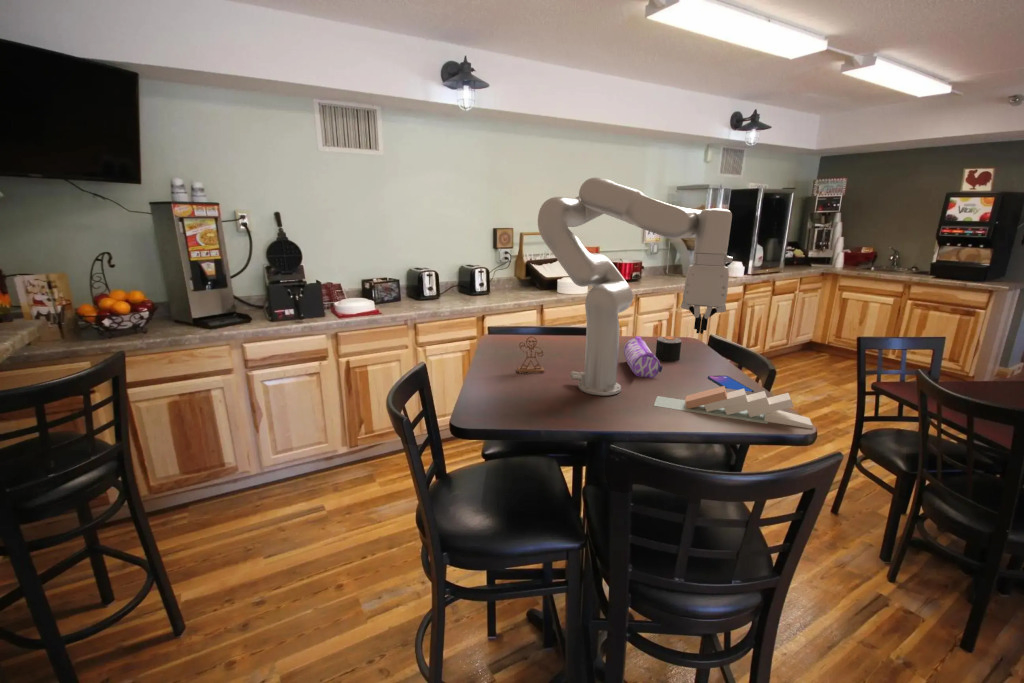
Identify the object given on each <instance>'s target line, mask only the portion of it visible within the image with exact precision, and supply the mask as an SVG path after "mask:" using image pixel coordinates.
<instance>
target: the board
mask: <svg viewBox="0 0 1024 683" xmlns="http://www.w3.org/2000/svg"><path fill="white" fill-rule="evenodd" d="M653 407H659V408H665V409H671V410H678V411H684V412H691V413H698V414H704V415H710V416H716V417H723V418H728V419H735V420H741V421H746V422H754V423H758V424H759V423H761V424H766V425H768V424H769V422H767V421H764V416H763V414H762V415H758V416H754V417H750V416H749V414H748V411H747V410H746V411H742V412H737V413H733V414H729V415H727V414H726V412H725V409H724V408H721V409H717V410H713V411H709V412H707V411H706V409H705V406H704V405H702V406H698V407H694V408H690V409H688V408H687V406H686V403H685V399H679V398H674V397H665V396H658V395H657V396H656V398H655V401H654V404H653Z"/></svg>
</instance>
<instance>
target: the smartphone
mask: <svg viewBox="0 0 1024 683" xmlns="http://www.w3.org/2000/svg"><path fill="white" fill-rule="evenodd" d="M707 379H708V380H710V381H711V380H712V382H713V383H715V384H717V385H718V386H719V387H722V386H725V388H726V390H727V389H729V390H733V391H736V390H740V389H745V392H750V393H751V392H752V393H754V392H755V391H754V390H753V389H751V388H750V387H747V385H745V384H743V383H741V382H740V381H738V380H736V379H735V378H733V377H731V376H729V375H708V376H707Z"/></svg>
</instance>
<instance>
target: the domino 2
mask: <svg viewBox="0 0 1024 683" xmlns="http://www.w3.org/2000/svg"><path fill="white" fill-rule="evenodd" d="M746 392H747V391H745V389H740V390H733V391H730V392H727V399H725V400H721V401H717V402H713V403H709V404H705V405H704V406H705V409H706V411H707V412H709V411H713V410H717V409H721V408H725V407H729V406H733V405H737V404H741V403H745V402H748V400H747V393H746Z"/></svg>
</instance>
